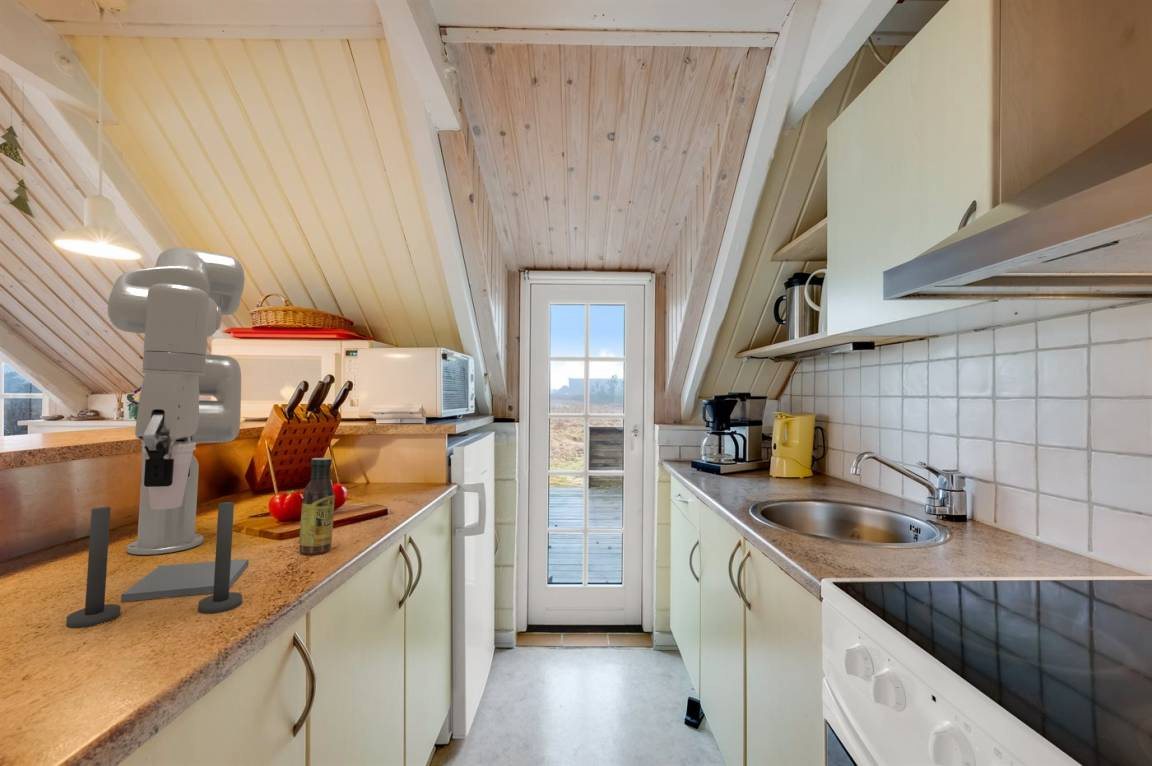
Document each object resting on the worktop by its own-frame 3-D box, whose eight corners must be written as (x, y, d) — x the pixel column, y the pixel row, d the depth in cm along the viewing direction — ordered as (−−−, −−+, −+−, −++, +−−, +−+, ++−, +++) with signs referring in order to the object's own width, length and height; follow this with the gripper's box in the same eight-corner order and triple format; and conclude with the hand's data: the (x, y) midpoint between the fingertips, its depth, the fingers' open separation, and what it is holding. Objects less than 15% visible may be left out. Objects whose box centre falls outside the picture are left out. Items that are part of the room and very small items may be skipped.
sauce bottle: (317, 557, 100) (322, 461, 101) (291, 554, 102) (296, 459, 102) (338, 548, 107) (343, 457, 108) (314, 545, 108) (318, 456, 109)
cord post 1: (80, 613, 72) (87, 505, 73) (127, 608, 74) (134, 503, 75) (56, 630, 67) (64, 514, 68) (108, 624, 69) (115, 511, 70)
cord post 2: (205, 601, 78) (210, 500, 78) (246, 596, 80) (251, 499, 81) (192, 615, 73) (198, 508, 73) (236, 610, 75) (242, 506, 75)
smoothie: (130, 512, 70) (136, 416, 70) (148, 502, 76) (153, 413, 76) (184, 510, 73) (190, 417, 73) (198, 500, 79) (203, 414, 79)
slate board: (159, 572, 89) (159, 565, 89) (248, 565, 95) (248, 558, 95) (120, 602, 76) (121, 594, 76) (226, 591, 82) (227, 584, 82)
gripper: (168, 366, 82) (161, 473, 81) (115, 361, 66) (106, 494, 65) (221, 368, 84) (215, 472, 84) (183, 364, 68) (175, 492, 68)
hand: (167, 480), depth 75 cm, fingers closed on smoothie, 6 cm apart
